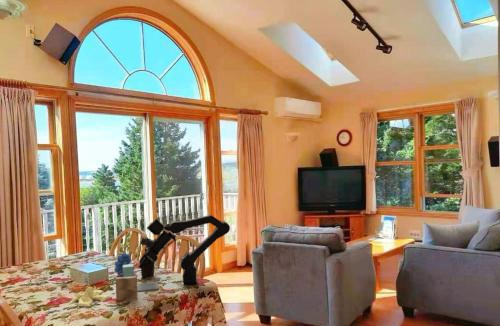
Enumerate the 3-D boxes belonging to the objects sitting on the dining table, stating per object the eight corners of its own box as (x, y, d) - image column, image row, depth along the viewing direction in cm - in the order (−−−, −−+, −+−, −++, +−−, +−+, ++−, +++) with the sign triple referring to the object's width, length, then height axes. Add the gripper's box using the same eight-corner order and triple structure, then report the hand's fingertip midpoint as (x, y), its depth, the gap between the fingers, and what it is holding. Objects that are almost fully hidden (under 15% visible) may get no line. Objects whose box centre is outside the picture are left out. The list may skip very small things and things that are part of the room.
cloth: (97, 290, 196) (97, 278, 196) (119, 297, 185) (118, 284, 185) (52, 304, 179) (52, 290, 179) (73, 313, 167) (72, 298, 167)
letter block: (134, 287, 197) (133, 263, 197) (134, 290, 192) (133, 266, 192) (123, 288, 196) (123, 264, 196) (123, 292, 191) (122, 267, 191)
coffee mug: (151, 278, 211) (151, 260, 211) (136, 278, 213) (136, 260, 213) (160, 272, 222) (160, 255, 222) (146, 272, 224) (146, 254, 224)
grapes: (126, 270, 229) (125, 250, 229) (134, 271, 225) (133, 251, 225) (109, 275, 219) (109, 254, 219) (117, 277, 215) (117, 255, 215)
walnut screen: (137, 297, 182) (136, 276, 182) (136, 299, 180) (135, 277, 180) (117, 298, 182) (117, 277, 182) (116, 300, 179) (115, 278, 179)
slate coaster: (157, 283, 203) (157, 282, 203) (158, 289, 193) (158, 288, 193) (137, 285, 200) (137, 284, 200) (137, 291, 190) (137, 290, 190)
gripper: (149, 228, 206) (128, 250, 203) (149, 234, 188) (126, 259, 185) (165, 241, 208) (144, 264, 205) (167, 249, 190) (144, 274, 187)
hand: (139, 265), depth 195 cm, fingers open, 9 cm apart
